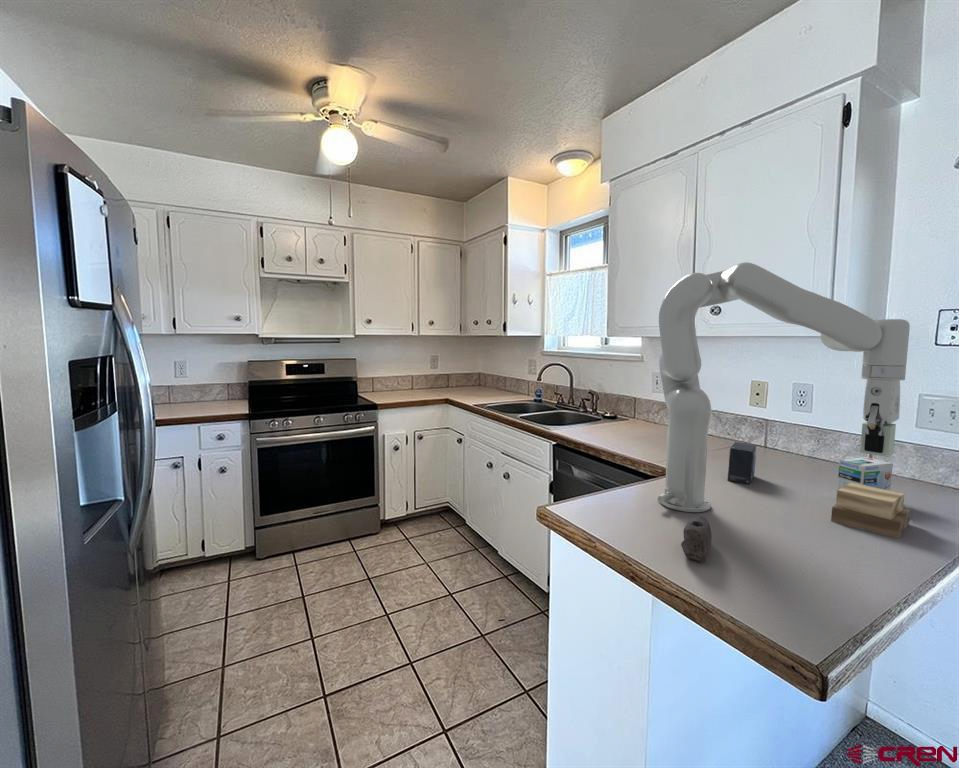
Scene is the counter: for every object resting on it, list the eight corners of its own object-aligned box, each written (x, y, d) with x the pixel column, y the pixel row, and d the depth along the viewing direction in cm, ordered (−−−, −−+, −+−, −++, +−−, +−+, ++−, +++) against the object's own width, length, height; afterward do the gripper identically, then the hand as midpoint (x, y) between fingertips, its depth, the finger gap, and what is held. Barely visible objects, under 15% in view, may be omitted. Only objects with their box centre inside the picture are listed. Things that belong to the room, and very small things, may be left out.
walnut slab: (898, 540, 98) (900, 523, 97) (830, 523, 107) (832, 507, 107) (908, 526, 105) (910, 510, 105) (844, 510, 114) (845, 495, 114)
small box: (751, 485, 133) (753, 451, 132) (726, 481, 137) (728, 447, 136) (755, 476, 141) (757, 444, 140) (732, 472, 145) (733, 441, 144)
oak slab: (890, 519, 99) (892, 502, 99) (835, 506, 107) (837, 490, 107) (902, 509, 105) (904, 493, 104) (849, 497, 113) (851, 482, 113)
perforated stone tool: (688, 534, 100) (690, 504, 99) (714, 540, 97) (716, 509, 96) (677, 562, 87) (679, 529, 87) (707, 570, 85) (709, 535, 84)
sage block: (888, 456, 101) (890, 426, 100) (860, 452, 105) (862, 423, 104) (893, 453, 104) (895, 424, 103) (865, 449, 108) (868, 420, 107)
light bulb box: (861, 506, 116) (865, 466, 115) (834, 497, 123) (838, 459, 122) (890, 501, 119) (894, 462, 118) (863, 493, 126) (866, 456, 125)
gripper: (896, 376, 94) (889, 459, 96) (913, 371, 105) (906, 447, 107) (851, 374, 100) (845, 452, 102) (871, 370, 111) (865, 441, 112)
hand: (876, 448), depth 104 cm, fingers closed on sage block, 5 cm apart
